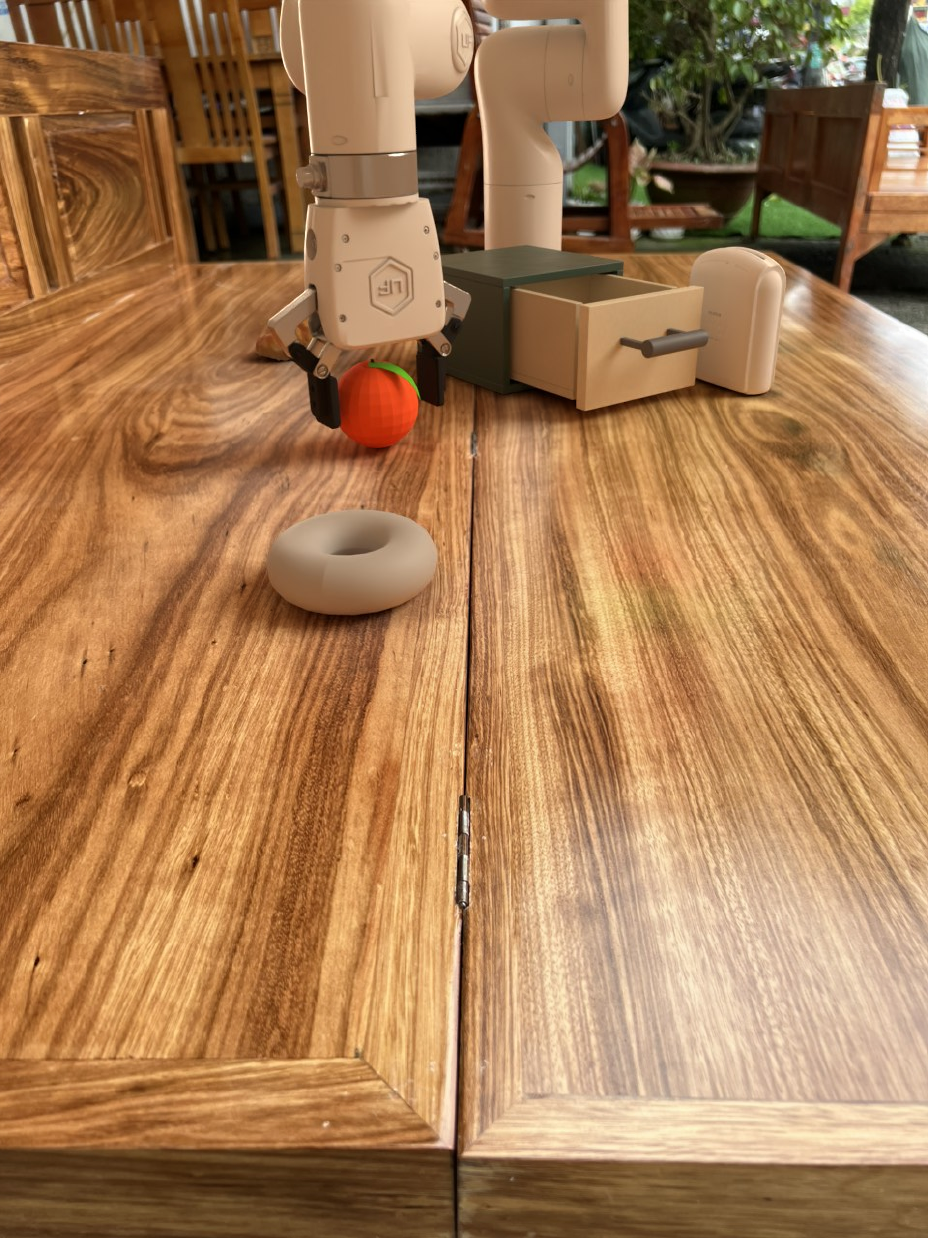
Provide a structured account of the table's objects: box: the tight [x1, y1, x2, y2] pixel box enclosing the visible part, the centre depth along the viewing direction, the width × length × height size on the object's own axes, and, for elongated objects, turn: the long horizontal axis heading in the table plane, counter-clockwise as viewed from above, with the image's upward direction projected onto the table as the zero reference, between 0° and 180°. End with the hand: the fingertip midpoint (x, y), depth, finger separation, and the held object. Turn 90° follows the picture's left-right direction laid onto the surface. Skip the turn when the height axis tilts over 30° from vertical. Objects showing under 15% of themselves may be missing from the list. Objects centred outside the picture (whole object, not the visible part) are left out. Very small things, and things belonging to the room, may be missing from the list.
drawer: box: [510, 273, 708, 412], centre depth 88 cm, size 19×13×9 cm
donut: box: [265, 509, 439, 616], centre depth 56 cm, size 10×4×10 cm
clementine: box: [337, 358, 422, 449], centre depth 77 cm, size 8×7×7 cm
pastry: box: [254, 319, 313, 362], centre depth 107 cm, size 9×7×4 cm
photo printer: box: [688, 246, 787, 395], centre depth 90 cm, size 10×4×12 cm, turn 26°
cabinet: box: [416, 245, 625, 395], centre depth 98 cm, size 16×15×11 cm
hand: (381, 413), depth 77 cm, fingers open, 9 cm apart
